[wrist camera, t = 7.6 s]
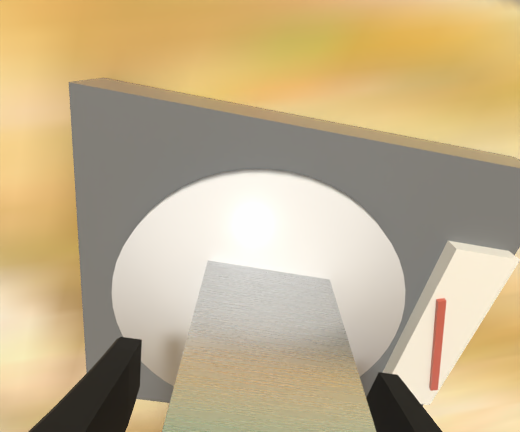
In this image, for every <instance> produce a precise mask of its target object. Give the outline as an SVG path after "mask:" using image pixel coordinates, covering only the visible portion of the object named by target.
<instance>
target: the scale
mask: <svg viewBox="0 0 520 432" xmlns="http://www.w3.org/2000/svg"><path fill="white" fill-rule="evenodd" d="M69 93H70V109H71V126H72V142H73V158H74V174H75V190H76V207H77V223H78V239H79V255H80V272H81V288H82V304H83V320H84V337H85V353H86V369H87V373H88V371H89V370H90V369H91V368H92V367H93V366H94V365H95V364H96V363H97V362H98V360H99V359H100V358H101V357H102V356H103V355H104V354H105V352H106V351H107V350H108V349H109V348H110V347H111V345H112V344H113V343H114V342H115V341H116V339H118V338H119V337H126V338H134V339H141V340H142V347H141V372H140V388H139V391H138V395H137V398H136V399H142V400H150V401H159V402H167V403H170V400H171V396H172V392H173V389H174V385H175V381H176V378H177V374H178V370H179V366H180V363H181V359H182V355H183V351H184V348H185V344H186V340H187V336H188V333H189V329H190V325H191V321H192V318H193V314H194V310H195V306H196V303H197V299H198V295H199V291H200V288H201V284H202V280H203V277H204V273H205V269H206V265H207V262H208V260H209V261H216V262H222V263H228V264H235V265H241V266H247V267H254V268H260V269H266V270H273V271H279V272H285V273H292V274H298V275H304V276H311V277H317V278H323V279H330V282H331V285H332V289H333V292H334V295H335V298H336V302H337V305H338V308H339V311H340V315H341V318H342V321H343V324H344V328H345V331H346V334H347V337H348V341H349V344H350V347H351V351H352V354H353V357H354V360H355V364H356V367H357V370H358V373H359V377H360V380H361V383H362V386H363V390H364V393H365V396H366V397H367V395H368V393H369V391H370V389H371V387H372V385H373V383H374V381H375V379H376V377H377V375H378V373H379V372H382V373H389V374H396V375H398V376H399V377H400V378H401V379H402V381H403V382H404V383H405V384H406V386H407V387H408V388H409V390H410V391H411V392H412V393H413V395H414V396H415V397H416V399H417V400H418V401H419V403H420V404H421V405H422V406H423V404H426V405H430V404H431V402H432V401H433V399H434V397H435V396H436V394H437V393H438V391H439V389H440V388H441V386H442V385H443V383H444V381H445V380H446V378H447V376H448V375H449V373H450V372H451V370H452V368H453V367H454V365H455V364H456V362H457V360H458V359H459V357H460V356H461V354H462V352H463V351H464V349H465V348H466V346H467V344H468V343H469V341H470V340H471V338H472V336H473V335H474V333H475V332H476V330H477V328H478V327H479V325H480V324H481V322H482V320H483V319H484V317H485V316H486V314H487V312H488V311H489V309H490V308H491V306H492V304H493V303H494V301H495V299H496V298H497V296H498V295H499V293H500V291H501V290H502V288H503V287H504V285H505V283H506V282H507V280H508V279H509V277H510V275H511V274H512V272H513V271H514V269H515V267H516V266H517V264H518V263H519V261H520V259H519V258H517V257H516V256H515V253H516V252H517V250H518V249H519V247H520V160H519V159H517V158H514V157H511V156H505V155H500V154H495V153H490V152H485V151H479V150H474V149H469V148H464V147H459V146H454V145H448V144H443V143H438V142H433V141H428V140H423V139H417V138H412V137H407V136H402V135H397V134H392V133H386V132H381V131H376V130H371V129H366V128H361V127H355V126H350V125H345V124H340V123H335V122H330V121H324V120H319V119H314V118H309V117H304V116H298V115H293V114H288V113H283V112H278V111H273V110H267V109H262V108H257V107H252V106H247V105H242V104H236V103H231V102H226V101H221V100H216V99H211V98H205V97H200V96H195V95H190V94H185V93H180V92H174V91H169V90H164V89H159V88H154V87H149V86H143V85H138V84H133V83H128V82H123V81H118V80H112V79H107V78H99V79H90V80H82V81H74V82H69Z"/></svg>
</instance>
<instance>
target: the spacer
mask: <svg viewBox="0 0 520 432" xmlns="http://www.w3.org/2000/svg"><path fill="white" fill-rule="evenodd" d="M162 432H376V429H375V425H374V422H373V419H372V416H371V412H370V409H369V406H368V403H367V399H366V396H365V393H364V390H363V386H362V383H361V380H360V377H359V373H358V370H357V367H356V364H355V360H354V357H353V354H352V351H351V347H350V344H349V341H348V337H347V334H346V331H345V328H344V324H343V321H342V318H341V315H340V311H339V308H338V305H337V302H336V298H335V295H334V292H333V289H332V285H331V282H330V279H323V278H317V277H311V276H304V275H298V274H292V273H285V272H279V271H273V270H266V269H260V268H254V267H247V266H241V265H235V264H228V263H222V262H216V261H209V260H208V262H207V265H206V269H205V273H204V277H203V280H202V284H201V288H200V291H199V295H198V299H197V303H196V306H195V310H194V314H193V318H192V321H191V325H190V329H189V333H188V336H187V340H186V344H185V348H184V351H183V355H182V359H181V363H180V366H179V370H178V374H177V378H176V381H175V385H174V389H173V392H172V396H171V400H170V404H169V407H168V411H167V415H166V419H165V422H164V426H163V430H162Z"/></svg>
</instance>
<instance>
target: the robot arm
mask: <svg viewBox="0 0 520 432" xmlns="http://www.w3.org/2000/svg"><path fill="white" fill-rule="evenodd" d="M141 347H142V340H141V339H134V338H126V337H119V338H118V339H116V341H115V342H114V343H113V344H112V345H111V347H110V348H109V349H108V350H107V351H106V352H105V354H104V355H103V356H102V357H101V358H100V359H99V360H98V362H97V363H96V364H95V365H94V366H93V367H92V368H91V369H90V370H89V371H88V373H87V374H86V375H85V376H84V377H83V378H82V379H81V380H80V381H79V382H78V383H77V384H76V385H75V386H74V387H73V388H72V389H71V390H70V391H69V393H68V394H67V395H66V396H65V397H64V398H63V399H62V400H61V401H60V402H59V403H58V404H57V405H56V406H55V407H54V408H53V409H52V410H51V411H50V412H49V413H48V414H47V415H46V416H44V417H43V418H42V419H41V420H40V421H39V422H38V423H37V424H36V425H35V426H34V427H33V428H32V429H31V430H30V431H29V432H125V431H126V428H127V426H128V423H129V420H130V417H131V414H132V411H133V407H134V404H135V401H136V398H137V395H138V391H139V388H140V372H141ZM366 399H367V403H368V406H369V409H370V412H371V416H372V419H373V422H374V425H375V429H376V432H442V431H441V430H440V428H439V427H438V426H437V424H436V423H435V422H434V421H433V419H432V418H431V417H430V415H429V414H428V413H427V412H426V410H425V409H424V408H423V406H422V405H421V404H420V403H419V401H418V400H417V399H416V397H415V396H414V395H413V393H412V392H411V391H410V390H409V388H408V387H407V386H406V384H405V383H404V382H403V381H402V379H401V378H400V377H399V376H398V375H396V374H389V373H382V372H379V373H378V375H377V377H376V379H375V381H374V383H373V385H372V387H371V389H370V391H369V393H368V395H367V397H366Z"/></svg>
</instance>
